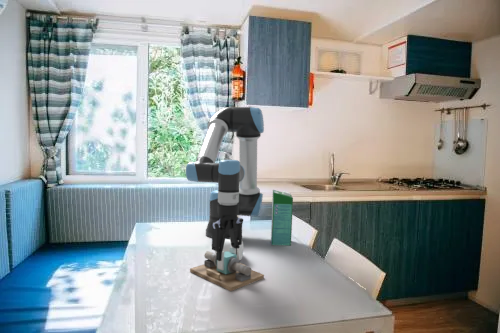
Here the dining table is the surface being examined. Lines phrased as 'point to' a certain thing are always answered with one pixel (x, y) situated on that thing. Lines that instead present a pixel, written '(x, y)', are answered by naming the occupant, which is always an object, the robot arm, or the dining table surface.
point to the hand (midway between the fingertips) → (226, 266)
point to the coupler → (227, 261)
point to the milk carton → (281, 218)
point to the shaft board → (230, 281)
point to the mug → (228, 244)
